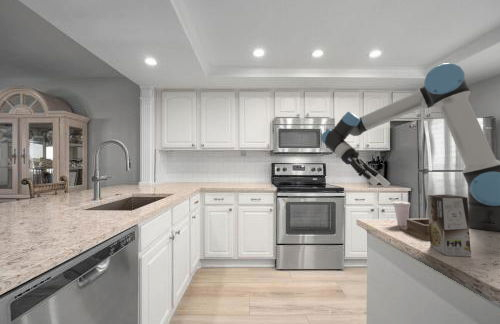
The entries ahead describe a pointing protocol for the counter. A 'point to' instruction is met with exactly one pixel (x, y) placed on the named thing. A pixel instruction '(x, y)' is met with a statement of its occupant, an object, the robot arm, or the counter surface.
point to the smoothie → (402, 212)
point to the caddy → (418, 228)
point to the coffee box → (449, 224)
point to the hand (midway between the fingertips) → (382, 185)
